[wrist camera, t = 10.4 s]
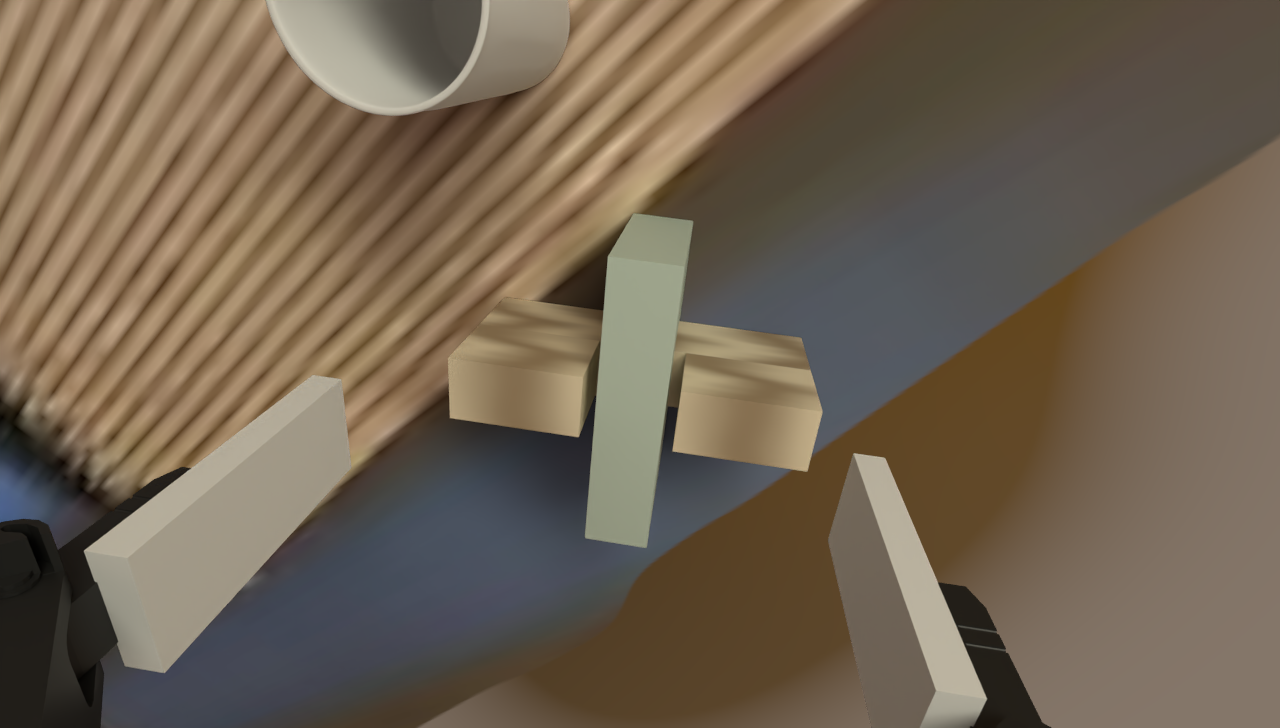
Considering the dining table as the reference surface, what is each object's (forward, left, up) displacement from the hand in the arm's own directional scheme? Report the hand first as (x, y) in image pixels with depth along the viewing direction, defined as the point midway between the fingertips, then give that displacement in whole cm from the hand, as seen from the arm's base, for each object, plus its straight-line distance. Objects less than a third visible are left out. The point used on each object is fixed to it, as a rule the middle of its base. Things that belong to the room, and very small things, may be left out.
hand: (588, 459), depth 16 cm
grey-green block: (0, -5, -18) cm, 19 cm away
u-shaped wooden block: (0, -5, -18) cm, 19 cm away
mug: (-7, +11, -19) cm, 23 cm away
